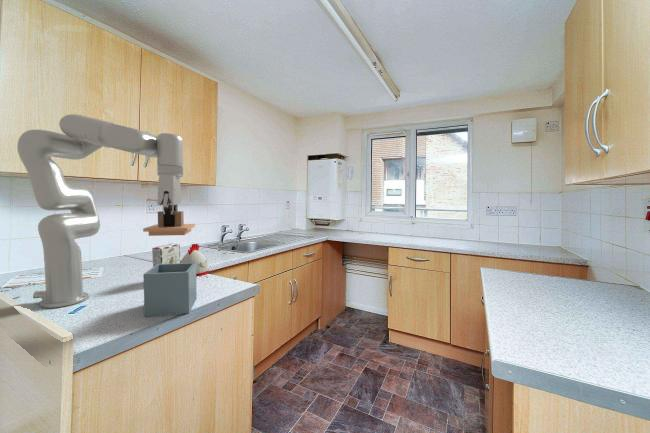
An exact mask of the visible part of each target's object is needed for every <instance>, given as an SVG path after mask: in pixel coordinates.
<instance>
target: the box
mask: <svg viewBox="0 0 650 433" xmlns="http://www.w3.org/2000/svg"><path fill="white" fill-rule="evenodd" d="M196 301H197V277H196V263H175V264H157V265H155V266H154V267H153V266H152V267H151V268H150V269H149V270H147V271H146V272H144V273H143V309H144V310H143V311H144V313H143V315H144V318H148V317H149V318H151V317H163V316H174V315H175V316H176V315H185V314H190V312H191V310H192V308H193V307H194V305H195V303H196Z"/></svg>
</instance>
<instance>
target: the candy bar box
mask: <svg viewBox="0 0 650 433" xmlns="http://www.w3.org/2000/svg"><path fill="white" fill-rule="evenodd" d="M180 245H181V244H180V243H168V244H163V245H160V246H155V247H152V249H151V250H152V253H151V254H152V268H153V267H154V266H155V265H157V264H175V263H180V261H181V246H180Z"/></svg>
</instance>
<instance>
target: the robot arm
mask: <svg viewBox="0 0 650 433" xmlns="http://www.w3.org/2000/svg"><path fill="white" fill-rule="evenodd" d="M58 125H59V128H60V130H61V132H62V133H60V132H56V131H51V130H46V129H30V130H26V131H24V132H23V133H22V134H21V135H20V136H19V138H18V140H17V145H16V146H17V147H16V148H17V153H18V156H19V158H20V160H21V163H22V164H23V166H24V168H25V170H26V171H27V175H28V177H29V182H30V185H31V188H32V190H33V191H32V192H33V194H34V197H35V198H34V199H35V200H36V203H37V205H38V206H39V207H40V208H41V209H42V210H44V211H45V210H46V211H54V212H55V211H70V212H69V213H68V212H67V213H53V214H50V215H47V216H45V217H43V218H42V219H40V220H39V223H38V225H37V230H38V234H39V237H40V240H41V244H42V249H43V262H44V282H45V290H38V291H37V290H36V291H34V293H33V295H32V298H33V299H41V300H40V302H39V307H41V308H45V309H53V308H61V307H68V306H72V305H76V304H79V303H81V302H84V301H86V300H88V298H89V293H88V292H84V289H83V288H84V286H83V284H84V282H83V281H84V280H83V260H82V259H83V258H82V251H81V250H82V249H81V248H80V246H79V244H78V243H77V242H76V241H75V240H77V239H82V238H89V237H92V236H95V235H96V234H98V232H99V231H100V228H101V222H100V217H99V214H98V211H97V210H98V209H97V206H96V203H95V199H94V197H93V195H92V192H91V191H90V190H89V189H88V188H87V187H84V186H82V185H80V184H79V185H78V184H69V183H67V181H66V178H65V176H64V173H63V170H62V169H61V168H60V166H59V165H58V164H57V162H55V161H54V160H53V159H52V157H53V158H61V159H67V160H75V161H78V160H83V159H85V158H87V157H88V156H90V155H92V154H93V153H95V152H96V151H99V150H100V149H101V148H109V149H115V150H119V151H124V152H127V153H131V154H135V155H141V156H146V157H148V158H149V157H151V158H156V161H157V162H156V163H157V164H156V168H157V170H156V171H157V176H158V181H157V205H159V206H162V208H163V210H162V211H163V214H164V215H163V218H164V227H174V226H175V215H173V213H174V211H179V208H178V206H179V205H180V204H181V202H182V201H181V200H182V199H181V198H182V197H181V196H182V194H181V193H182V191H181V190H182V189H181V178H183V177H184V143H183V142H184V141H183V138H182V137H181V135H177V134H175V133H165V132H164V133H163V132H162V133H159V134H158V135H155V134H153V133H150V132H146V131H144V130H139V129H137V128H134V127H133V128H132V127H129V126H124V125H122V124H121V125H120V124H116V123H115V122H114V123H113V122H111V121H105V120H101V119H97V118H93V117H90V116H87V115H86V116H85V115H82V114H67V115H66V114H65V115H64V116H62V117H61V118H60V120H59V122H58Z"/></svg>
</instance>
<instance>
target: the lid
mask: <svg viewBox="0 0 650 433" xmlns="http://www.w3.org/2000/svg"><path fill="white" fill-rule="evenodd" d="M163 215H164V214H163V210H160V211H157V224H154V225H153V224H152V225H150V226H146V227H144V228H142V232H144V233H146V232H147V233H148V236H151V237H153V236H154V237H155V236H161V237H162V236H165V237H166V236H186V235H187V234H189V233H190V232H192V229H193V228H195V227H196V224H195V223H185V221H184V220H185V218H184V211H183V210H178V211H174V213H173V215H175V226H174V227H164V218H163Z"/></svg>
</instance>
